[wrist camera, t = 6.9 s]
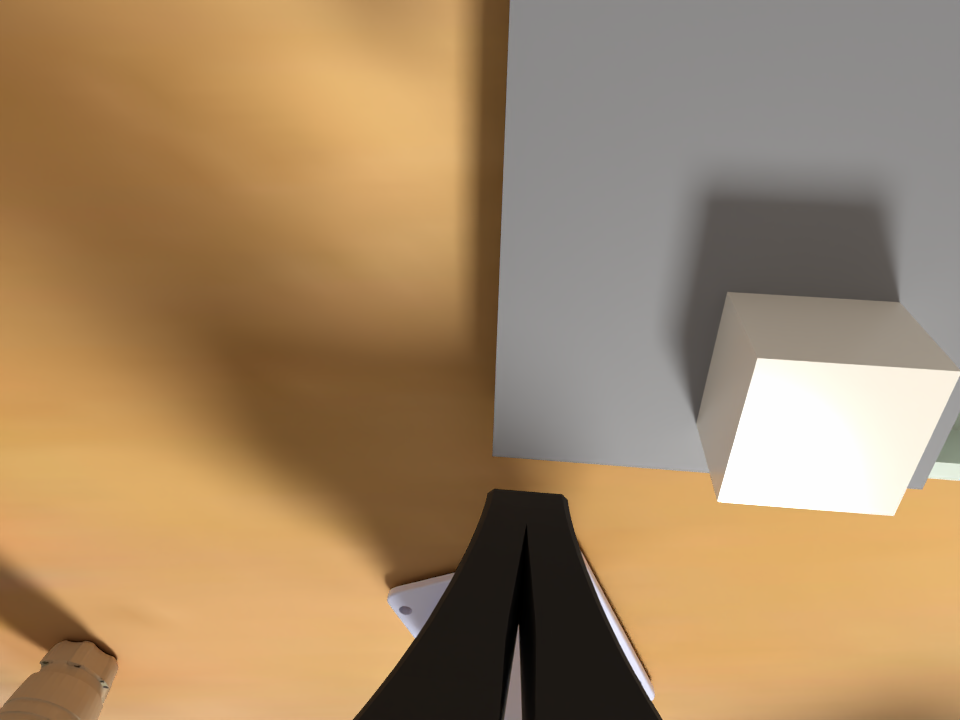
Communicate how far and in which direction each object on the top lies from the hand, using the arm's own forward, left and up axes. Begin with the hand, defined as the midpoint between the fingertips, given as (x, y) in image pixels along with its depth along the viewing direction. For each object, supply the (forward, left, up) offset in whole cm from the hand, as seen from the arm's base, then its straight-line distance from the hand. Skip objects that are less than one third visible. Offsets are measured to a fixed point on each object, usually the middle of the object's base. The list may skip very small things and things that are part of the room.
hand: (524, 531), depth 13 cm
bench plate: (0, -6, -9) cm, 11 cm away
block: (-3, -6, -5) cm, 8 cm away
